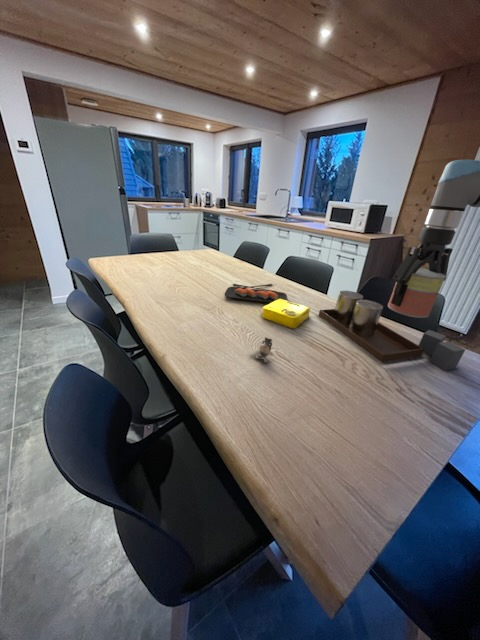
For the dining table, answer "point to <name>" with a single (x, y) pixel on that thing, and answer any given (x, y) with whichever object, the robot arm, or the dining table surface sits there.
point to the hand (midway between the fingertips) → (410, 303)
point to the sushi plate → (254, 294)
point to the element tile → (286, 313)
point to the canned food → (419, 294)
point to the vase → (265, 349)
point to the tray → (377, 340)
